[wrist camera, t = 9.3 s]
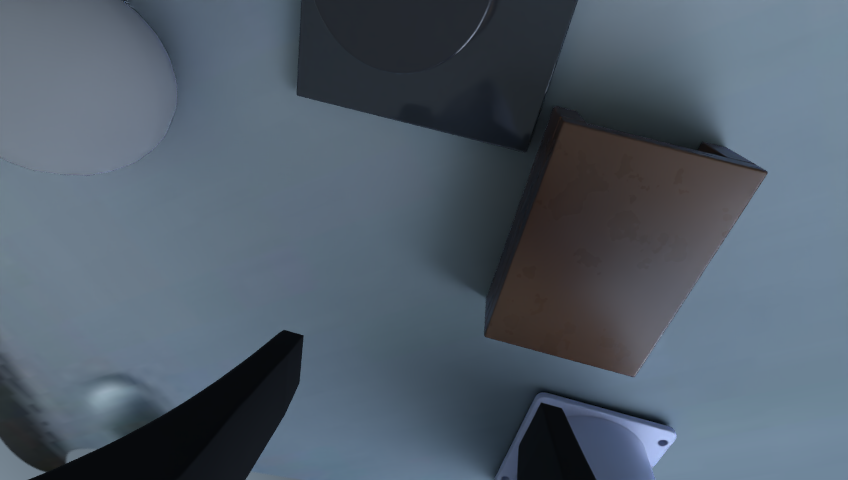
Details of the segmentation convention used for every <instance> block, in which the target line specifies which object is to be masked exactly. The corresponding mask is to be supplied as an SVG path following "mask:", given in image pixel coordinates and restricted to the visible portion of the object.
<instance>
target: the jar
mask: <svg viewBox="0 0 848 480" xmlns="http://www.w3.org/2000/svg"><path fill="white" fill-rule="evenodd" d="M314 2H315V5H316V7H317V10H318V12H319V14H320V16H321V18H322V20H323V22H324V24H325V25H326V27H327V29H328V30H329V32H330V33H331V34H332V36H333V37H334V38H335V40H336V41H337V42H338V43H339V44H340V45H341V46H342V47H343V48H344V49H345V50H346V51H347V52H348V53H349V54H351V55H352V56H353V57H354V58H356V59H358V60H359V61H361V62H362V63H364V64H366V65H368V66H370V67H372V68H375V69H378V70H381V71H384V72H389V73H395V74H411V73H419V72H423V71H427V70H430V69H432V68H435V67H437V66H440V65H441V64H443V63H445V62H446V61H448V60H450V59H451V58H453V57H454V56H455V55H456V54H458V53H459V52H460V51H461V50H463V49H464V47H465V46H466V45H467V44H468V43H469V42H470V41H471V40H472V39H473V38H474V36H475V35H476V34H477V32H478V31H479V30H480V28H481V27H482V26H483V24H484V22H485V21H486V19H487V17H488V15H489V13H490V11H491V8H492V5H493V2H494V0H314Z"/></svg>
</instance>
